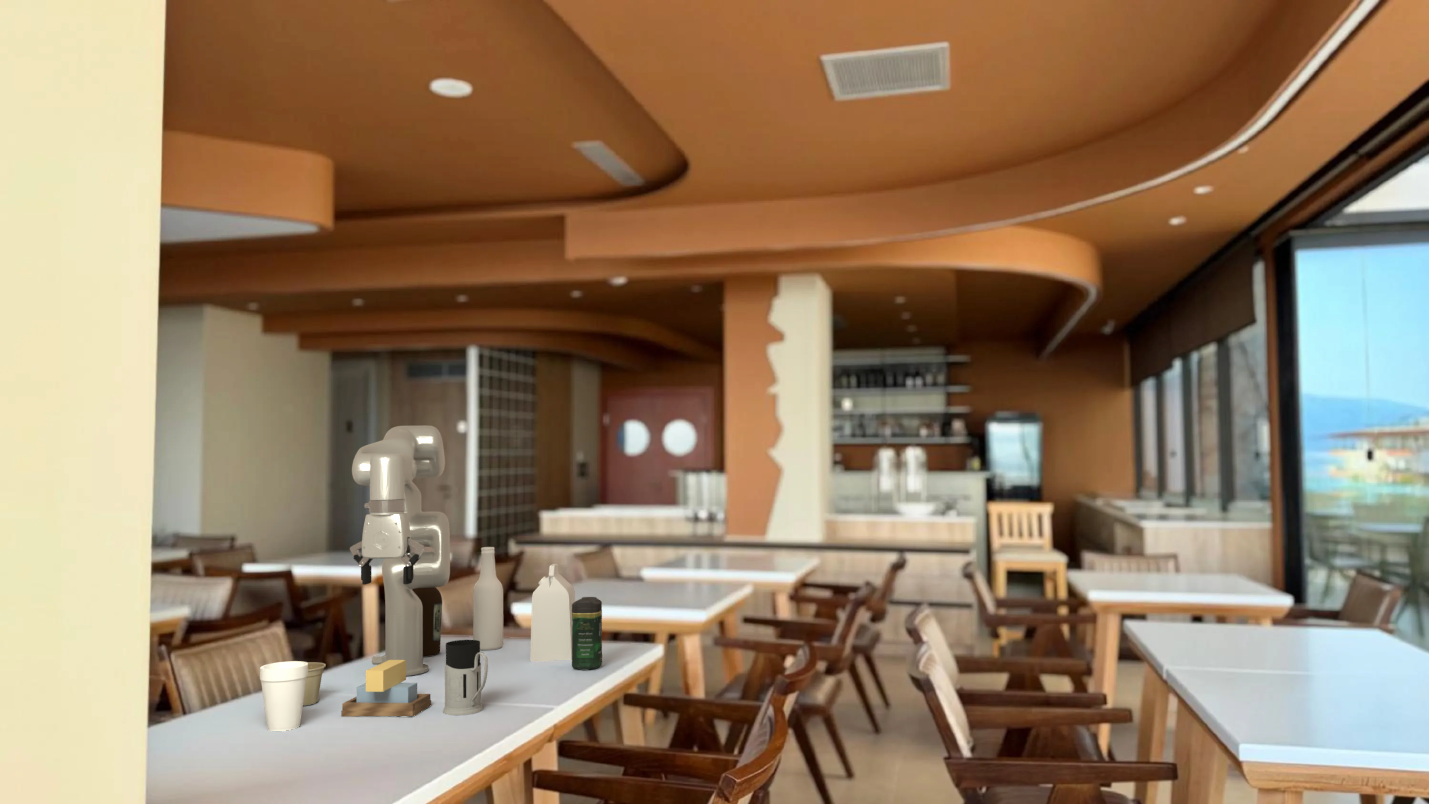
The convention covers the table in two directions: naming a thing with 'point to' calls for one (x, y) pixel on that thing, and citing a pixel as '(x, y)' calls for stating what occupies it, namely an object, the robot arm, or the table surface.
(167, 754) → the table surface
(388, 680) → the mustard wooden brick
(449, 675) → the glass holder
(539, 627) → the milk
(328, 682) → the table surface
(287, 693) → the foam cup
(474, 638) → the alcohol
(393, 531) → the robot arm
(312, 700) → the flower pot
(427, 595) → the olive oil
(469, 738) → the table surface
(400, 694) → the pale grey-blue block
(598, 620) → the coffee jar
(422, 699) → the cradle
